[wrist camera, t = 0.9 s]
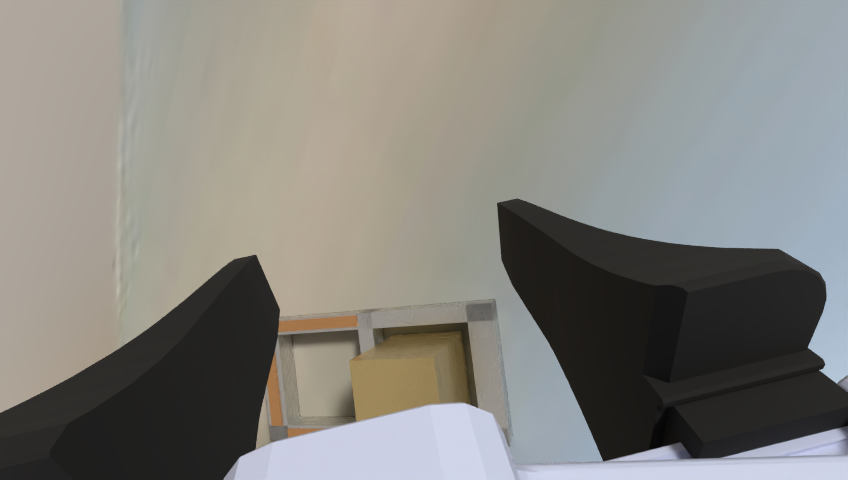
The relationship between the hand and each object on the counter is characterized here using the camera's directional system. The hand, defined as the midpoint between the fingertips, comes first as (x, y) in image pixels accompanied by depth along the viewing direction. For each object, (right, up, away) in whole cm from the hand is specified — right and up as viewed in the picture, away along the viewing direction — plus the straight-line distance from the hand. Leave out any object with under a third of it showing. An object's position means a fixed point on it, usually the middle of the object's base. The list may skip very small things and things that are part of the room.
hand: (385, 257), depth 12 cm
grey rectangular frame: (-2, -8, +15) cm, 17 cm away
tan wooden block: (+2, -8, +14) cm, 16 cm away
